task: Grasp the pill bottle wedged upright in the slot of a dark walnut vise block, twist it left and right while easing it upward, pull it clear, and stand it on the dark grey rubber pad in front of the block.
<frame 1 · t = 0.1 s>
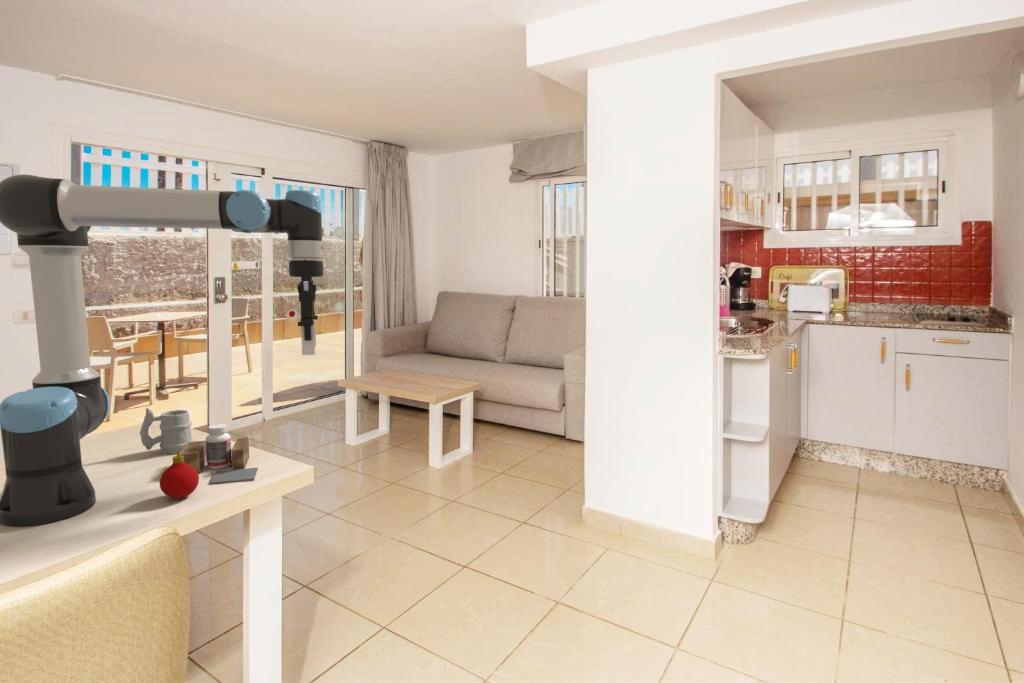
hand: (309, 350, 140), 28 cm above the table, fingers open, 13 cm apart
christmas ornament: (180, 498, 123), on the table
mug: (168, 451, 153), on the table
vise block: (219, 465, 143), on the table
pad: (234, 476, 135), on the table
pill bottle: (219, 466, 143), on the table
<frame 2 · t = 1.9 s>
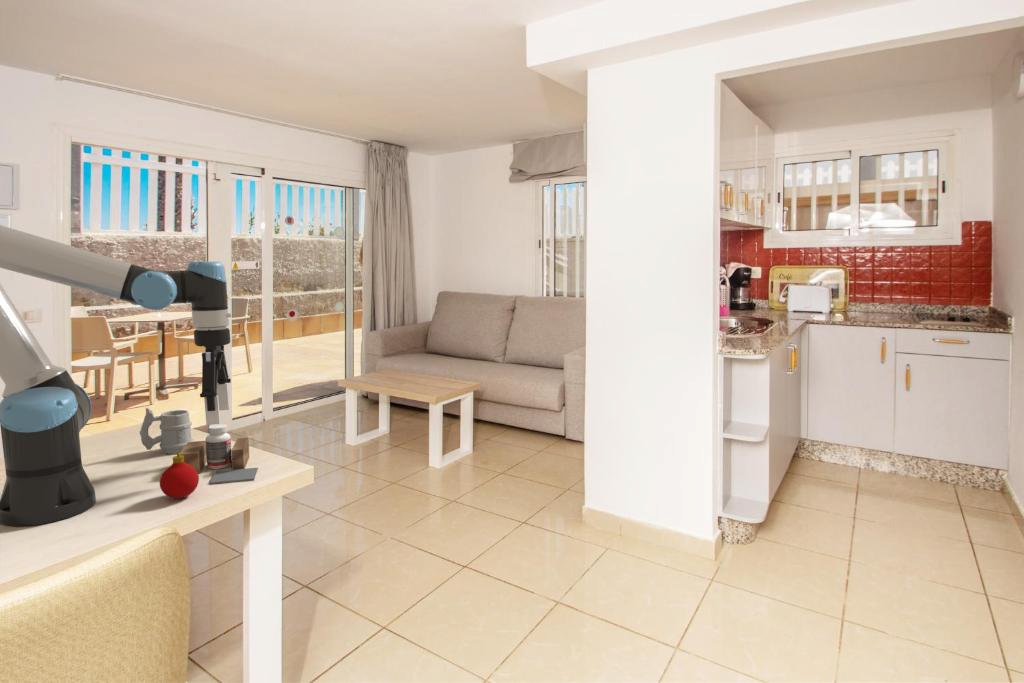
hand: (218, 416, 141), 12 cm above the table, fingers open, 13 cm apart
nothing on the table moved.
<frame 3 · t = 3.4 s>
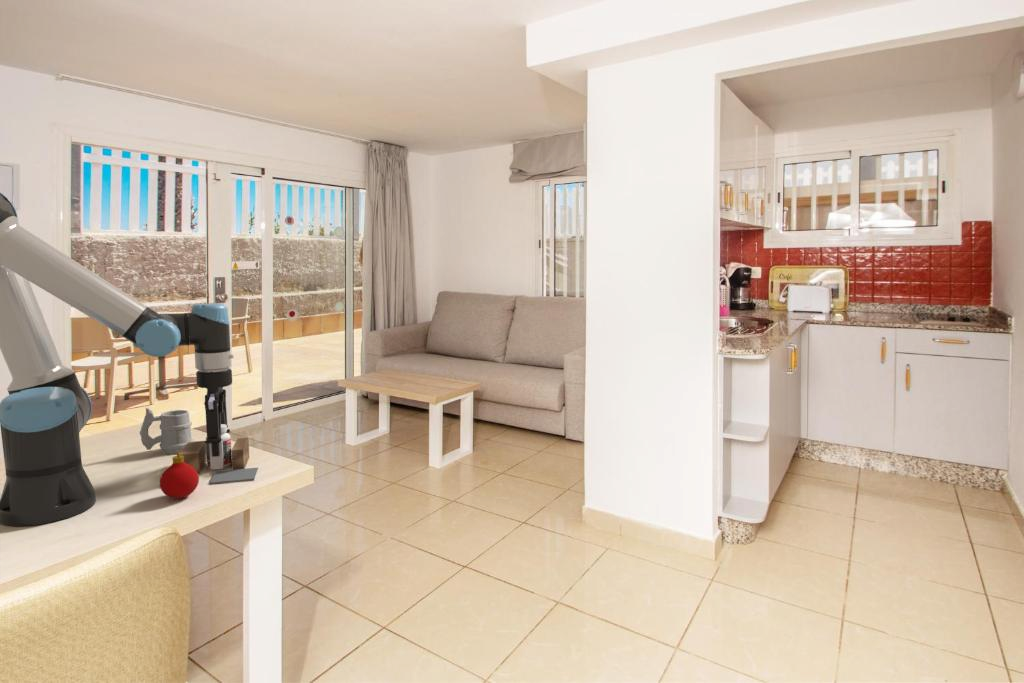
hand: (219, 464, 143), 0 cm above the table, fingers closed on pill bottle, 5 cm apart
pill bottle: (219, 466, 143), on the table, touching gripper
everything else where it was.
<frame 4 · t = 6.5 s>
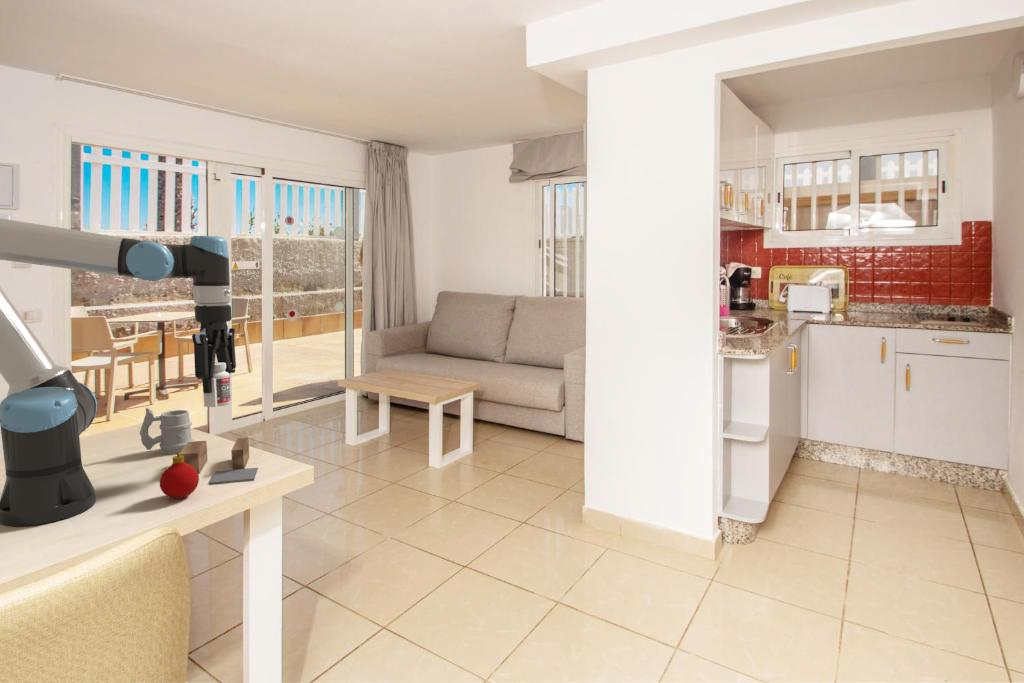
hand: (218, 403, 139), 16 cm above the table, fingers closed on pill bottle, 5 cm apart
pill bottle: (218, 405, 139), point 15 cm above the table, touching gripper
everything else where it was.
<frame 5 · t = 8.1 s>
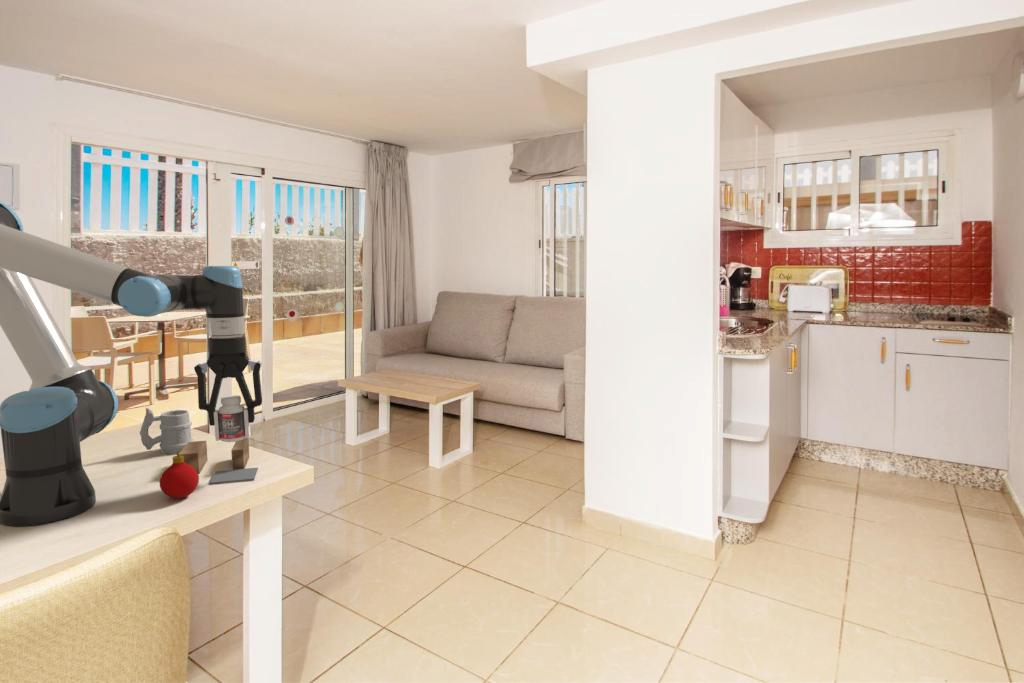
hand: (233, 437, 134), 9 cm above the table, fingers closed on pill bottle, 5 cm apart
pill bottle: (233, 439, 134), point 9 cm above the table, touching gripper
everything else where it was.
when the fingers open (2 cm above the table, at t = 9.4 s): pill bottle drops 2 cm, resting on pad.
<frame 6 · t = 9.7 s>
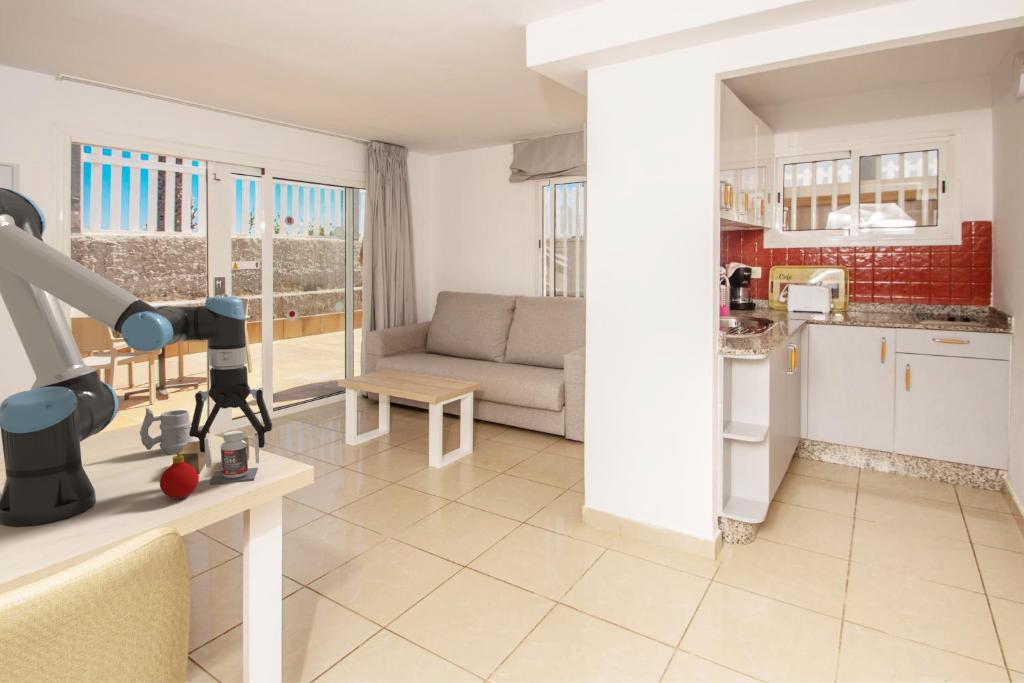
hand: (233, 463, 135), 3 cm above the table, fingers open, 9 cm apart
pill bottle: (235, 475, 135), resting on pad
everything else where it was.
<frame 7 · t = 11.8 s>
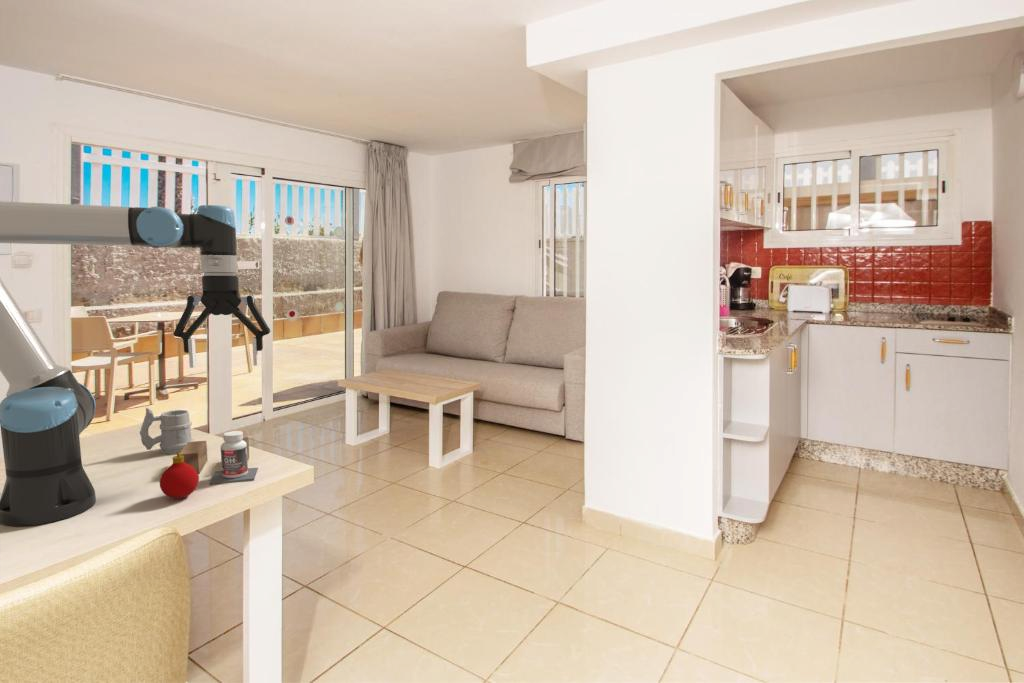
hand: (225, 365, 139), 24 cm above the table, fingers open, 13 cm apart
nothing on the table moved.
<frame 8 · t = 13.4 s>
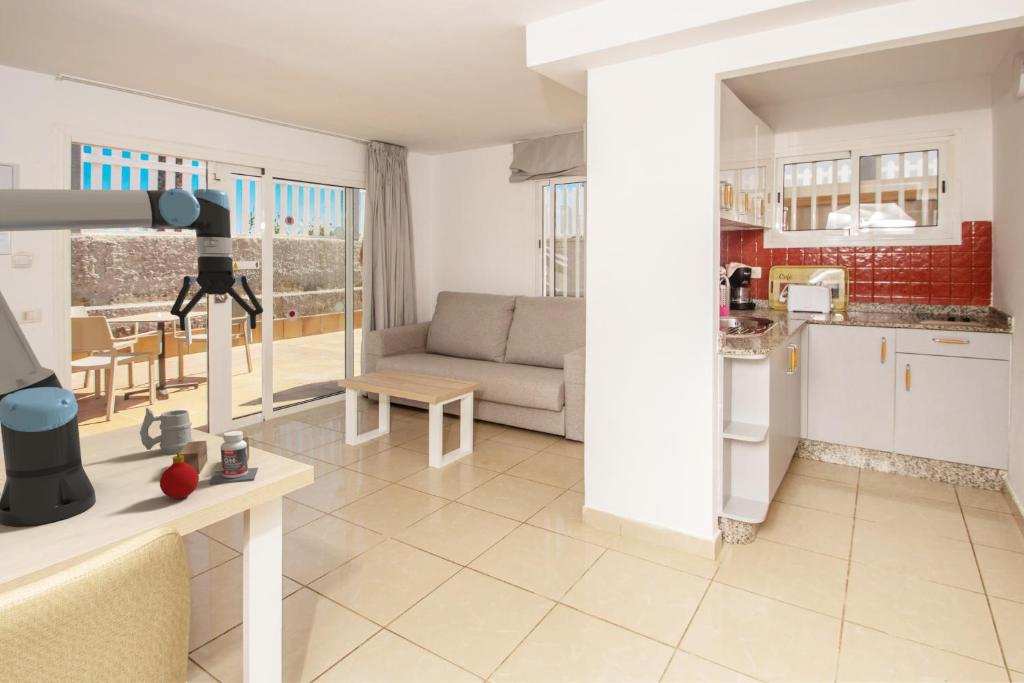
hand: (220, 343, 146), 29 cm above the table, fingers open, 13 cm apart
nothing on the table moved.
at the end: pill bottle inside the target area on the pad (0.2 cm from its centre), point 0.2 cm above the pad's base; pill bottle tilted 0°; the gripper is holding nothing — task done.
